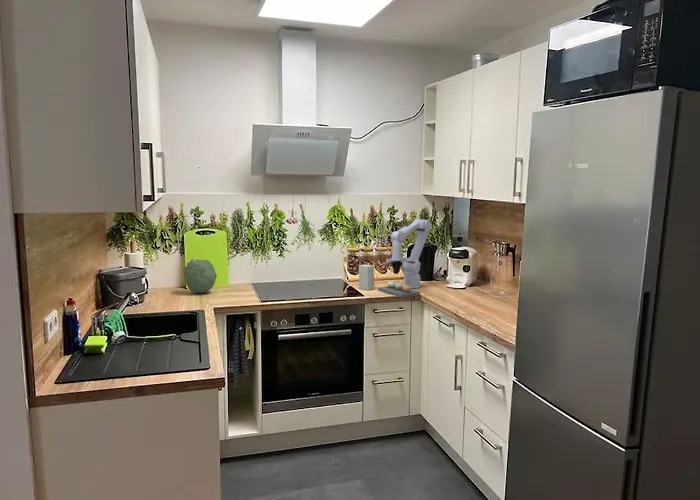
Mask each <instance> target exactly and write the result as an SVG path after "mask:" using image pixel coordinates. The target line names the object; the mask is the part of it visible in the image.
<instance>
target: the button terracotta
mask: <svg viewBox="0 0 700 500" xmlns="http://www.w3.org/2000/svg"><path fill="white" fill-rule="evenodd" d="M403 291H405V292H409V291H410V285H405V284H403Z"/></svg>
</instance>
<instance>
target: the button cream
mask: <svg viewBox="0 0 700 500" xmlns="http://www.w3.org/2000/svg"><path fill="white" fill-rule="evenodd" d="M395 283H396V281H393V280H389V281H387V286H388V287H395Z"/></svg>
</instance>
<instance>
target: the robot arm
mask: <svg viewBox="0 0 700 500" xmlns="http://www.w3.org/2000/svg"><path fill="white" fill-rule="evenodd" d="M431 228H432V224H431V221H430V220H429V219H420V218H419V219H418V218H416V219H413V222H412V223H410V224H409V225H408V226H406V225H404V226H402V228H400V229H397V231H393V232H392V233H391V235H390V240H391V244H392V250H391V251H392V255H391V258H386V260H385V261H386V262H385V263H387V264H389V263H390V265H391V266H392V269H393V274H394V275H399V272H400V269H401V267H402V271H403V274H404V285H410V289H412V290H413V289H417V288H418V289H419V288H422V286H421V274H420V273H419V272H420V271H421V264H422V263H421V262H420V257H421V254H422V251H423V248H424V245H425V243H426V241H427V237H428V235H429V233H430V231H431ZM414 230H415V231H414ZM412 231H414V232H415V233H416V234H417V235H418V236H417V238H416V241H415V243H414V246H413V249H412V252H411V254H410V256H409V257H403V252H402V251H403V241H405V238H406V237H407V236H409V235H410V234H411V232H412Z"/></svg>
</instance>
